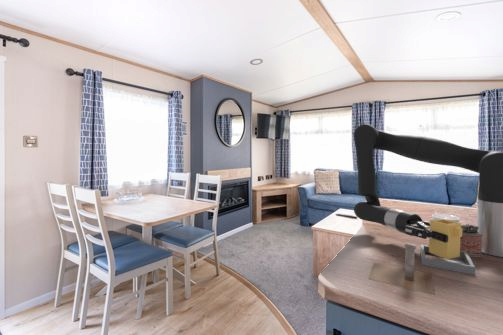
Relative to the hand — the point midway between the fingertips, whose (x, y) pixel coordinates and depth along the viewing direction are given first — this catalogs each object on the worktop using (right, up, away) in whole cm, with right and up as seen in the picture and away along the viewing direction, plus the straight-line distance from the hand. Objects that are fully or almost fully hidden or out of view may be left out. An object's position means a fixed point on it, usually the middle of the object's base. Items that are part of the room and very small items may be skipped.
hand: (454, 237), depth 70 cm
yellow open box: (-1, -6, +3) cm, 7 cm away
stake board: (-19, -10, -5) cm, 22 cm away
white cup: (+12, -8, +19) cm, 24 cm away
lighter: (+12, -8, +9) cm, 17 cm away
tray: (0, -9, +3) cm, 9 cm away
